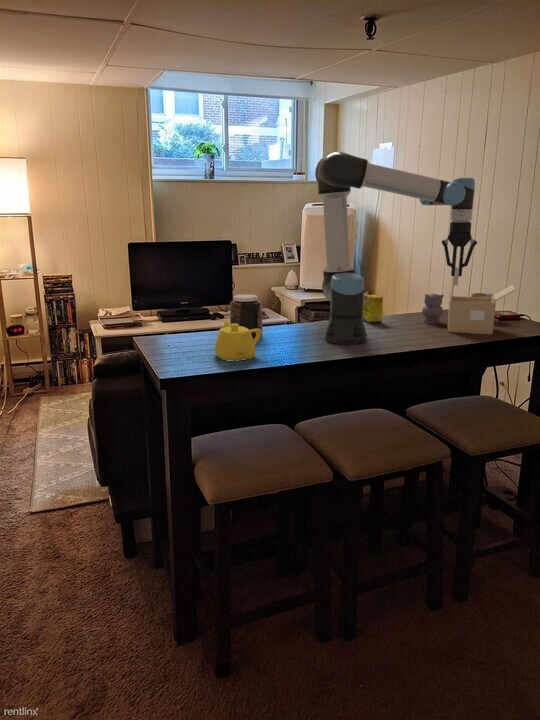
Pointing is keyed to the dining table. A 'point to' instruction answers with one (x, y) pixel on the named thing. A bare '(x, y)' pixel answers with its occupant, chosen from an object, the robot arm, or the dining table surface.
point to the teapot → (236, 342)
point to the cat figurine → (432, 308)
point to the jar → (246, 312)
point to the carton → (471, 315)
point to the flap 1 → (452, 287)
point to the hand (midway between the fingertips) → (455, 284)
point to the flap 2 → (503, 293)
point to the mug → (482, 295)
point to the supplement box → (372, 308)
